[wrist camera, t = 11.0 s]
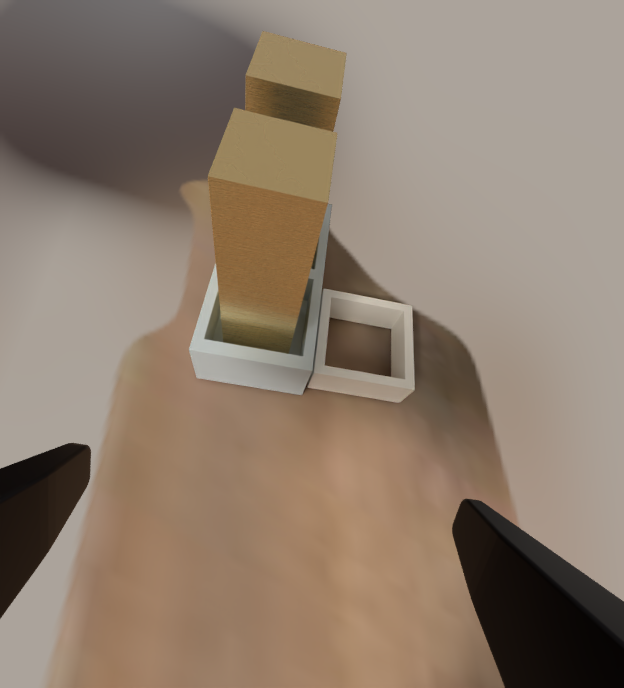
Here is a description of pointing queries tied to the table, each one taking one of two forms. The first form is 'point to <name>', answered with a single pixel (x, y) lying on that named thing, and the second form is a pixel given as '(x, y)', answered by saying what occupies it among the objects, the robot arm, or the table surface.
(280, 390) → the two-compartment pale blue organizer
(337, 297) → the box
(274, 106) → the seated billet
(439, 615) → the table surface
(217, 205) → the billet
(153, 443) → the table surface
